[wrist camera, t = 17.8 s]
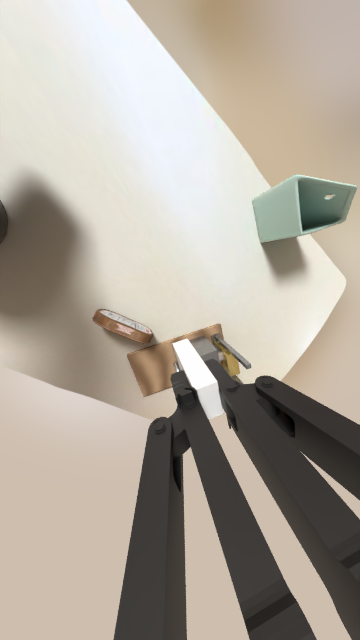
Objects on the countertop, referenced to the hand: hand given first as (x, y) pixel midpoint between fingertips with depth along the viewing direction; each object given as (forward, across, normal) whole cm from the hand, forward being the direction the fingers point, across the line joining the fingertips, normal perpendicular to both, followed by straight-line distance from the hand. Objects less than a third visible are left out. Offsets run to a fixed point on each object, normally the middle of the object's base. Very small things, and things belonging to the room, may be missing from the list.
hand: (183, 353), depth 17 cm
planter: (+33, +36, +8) cm, 50 cm away
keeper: (+30, +15, -22) cm, 40 cm away
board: (+33, +3, -22) cm, 40 cm away
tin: (+34, -9, -5) cm, 35 cm away
